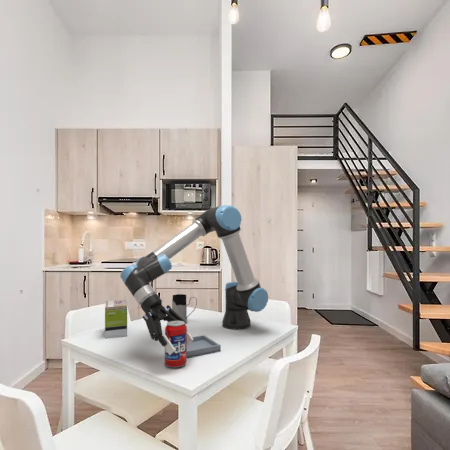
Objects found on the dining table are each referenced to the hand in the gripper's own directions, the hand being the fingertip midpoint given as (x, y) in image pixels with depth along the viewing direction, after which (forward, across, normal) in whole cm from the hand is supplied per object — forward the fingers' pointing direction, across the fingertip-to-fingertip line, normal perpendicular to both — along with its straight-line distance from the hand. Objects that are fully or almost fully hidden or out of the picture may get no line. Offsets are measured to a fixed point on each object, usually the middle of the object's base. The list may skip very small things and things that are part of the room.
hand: (182, 347), depth 107 cm
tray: (+2, -17, -8) cm, 19 cm away
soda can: (+3, 0, -7) cm, 8 cm away
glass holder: (-17, -49, -27) cm, 58 cm away
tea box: (-31, -19, -41) cm, 54 cm away
